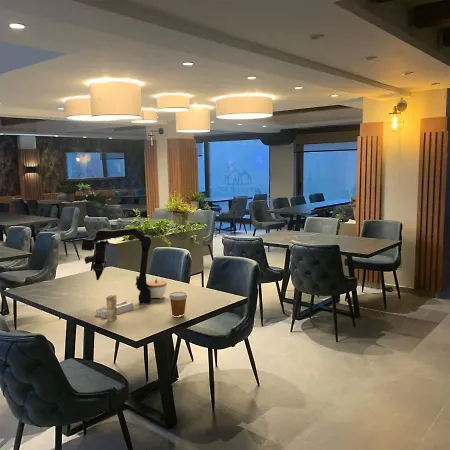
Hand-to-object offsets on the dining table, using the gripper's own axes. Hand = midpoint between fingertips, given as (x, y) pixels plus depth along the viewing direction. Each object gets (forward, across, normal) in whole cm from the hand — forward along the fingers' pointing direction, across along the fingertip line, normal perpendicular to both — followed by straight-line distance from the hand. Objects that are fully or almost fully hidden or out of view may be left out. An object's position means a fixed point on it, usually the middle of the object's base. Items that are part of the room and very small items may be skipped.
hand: (98, 278), depth 266 cm
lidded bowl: (+12, -9, +34) cm, 37 cm away
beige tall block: (+14, +28, +11) cm, 34 cm away
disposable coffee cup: (+11, +27, +45) cm, 54 cm away
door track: (+14, +16, +12) cm, 25 cm away
